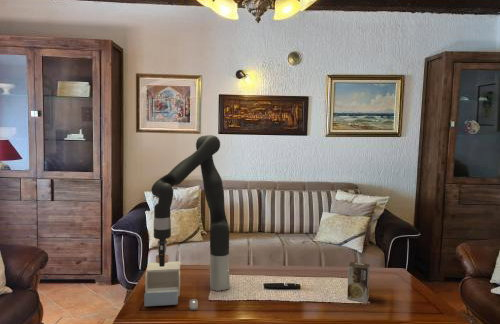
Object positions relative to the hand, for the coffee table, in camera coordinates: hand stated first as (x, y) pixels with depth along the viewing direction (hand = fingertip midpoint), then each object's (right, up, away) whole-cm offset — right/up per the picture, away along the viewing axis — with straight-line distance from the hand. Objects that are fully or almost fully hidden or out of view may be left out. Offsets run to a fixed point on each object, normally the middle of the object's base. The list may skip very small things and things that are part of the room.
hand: (162, 263), depth 173 cm
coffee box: (+90, -18, +8) cm, 92 cm away
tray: (-1, -16, +2) cm, 16 cm away
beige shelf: (-2, -16, +14) cm, 22 cm away
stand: (+15, -18, -5) cm, 24 cm away
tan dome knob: (0, +1, 0) cm, 1 cm away
